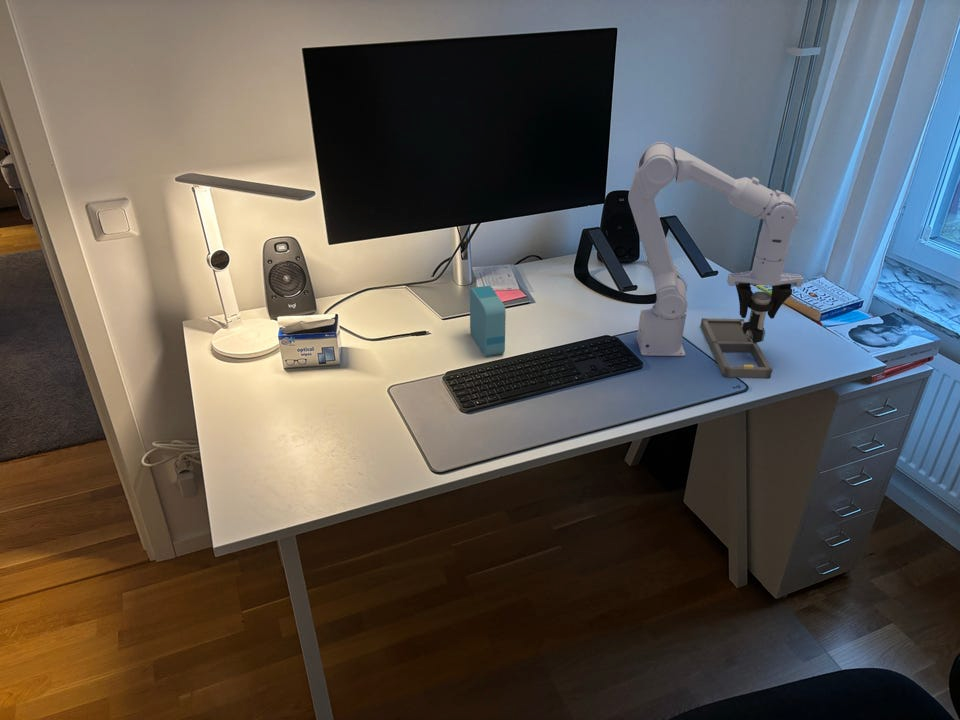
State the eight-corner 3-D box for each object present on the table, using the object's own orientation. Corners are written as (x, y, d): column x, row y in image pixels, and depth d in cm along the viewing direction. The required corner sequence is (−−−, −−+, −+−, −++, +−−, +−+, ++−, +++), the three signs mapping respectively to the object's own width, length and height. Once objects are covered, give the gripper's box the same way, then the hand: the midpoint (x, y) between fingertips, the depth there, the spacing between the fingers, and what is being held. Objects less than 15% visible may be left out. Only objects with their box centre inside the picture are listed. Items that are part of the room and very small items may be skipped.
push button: (730, 330, 158) (738, 289, 153) (751, 325, 160) (760, 284, 154) (750, 345, 153) (759, 304, 148) (771, 340, 155) (781, 299, 149)
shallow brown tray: (723, 377, 151) (725, 366, 150) (700, 326, 170) (702, 316, 169) (770, 378, 151) (772, 367, 150) (741, 326, 170) (743, 316, 169)
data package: (505, 356, 159) (506, 306, 152) (485, 359, 158) (485, 309, 151) (488, 330, 168) (489, 282, 162) (469, 333, 167) (469, 285, 161)
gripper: (800, 248, 150) (785, 307, 157) (728, 247, 150) (716, 306, 157) (812, 262, 144) (796, 323, 151) (738, 261, 144) (725, 322, 151)
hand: (756, 316), depth 153 cm, fingers closed on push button, 5 cm apart
